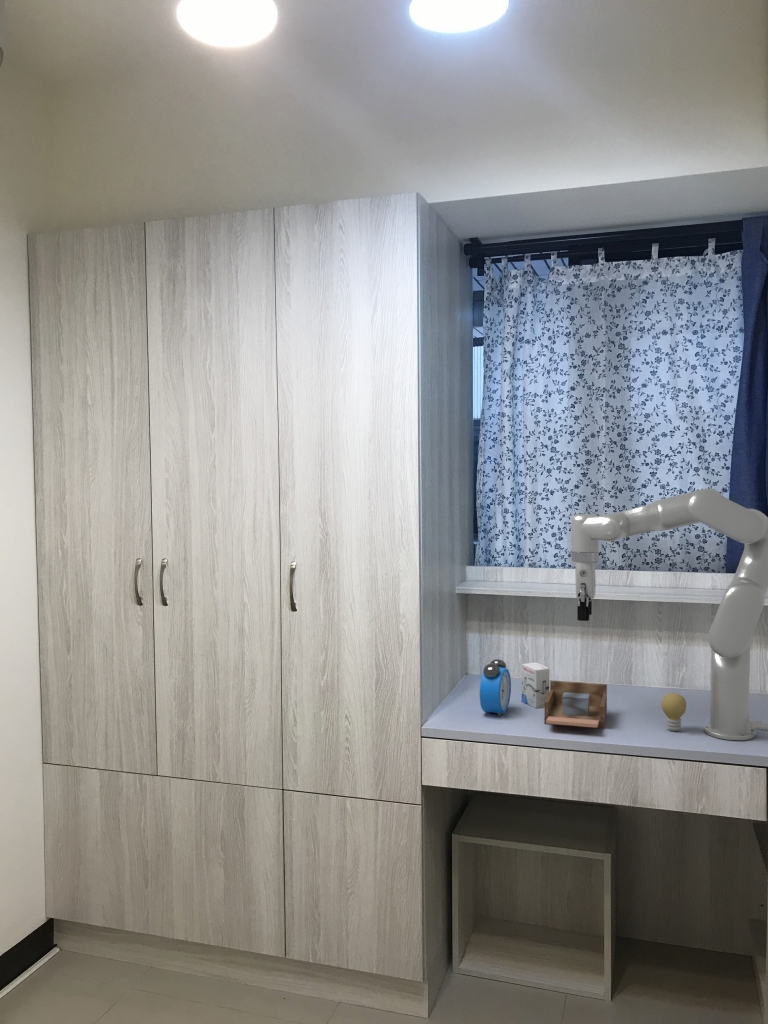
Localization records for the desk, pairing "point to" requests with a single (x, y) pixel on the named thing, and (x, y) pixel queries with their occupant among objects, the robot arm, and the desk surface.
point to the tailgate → (572, 721)
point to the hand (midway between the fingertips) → (584, 617)
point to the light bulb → (673, 710)
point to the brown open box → (595, 690)
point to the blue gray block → (575, 704)
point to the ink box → (535, 684)
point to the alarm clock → (495, 687)
